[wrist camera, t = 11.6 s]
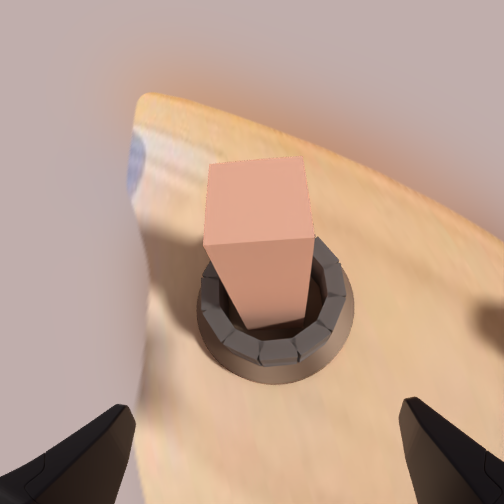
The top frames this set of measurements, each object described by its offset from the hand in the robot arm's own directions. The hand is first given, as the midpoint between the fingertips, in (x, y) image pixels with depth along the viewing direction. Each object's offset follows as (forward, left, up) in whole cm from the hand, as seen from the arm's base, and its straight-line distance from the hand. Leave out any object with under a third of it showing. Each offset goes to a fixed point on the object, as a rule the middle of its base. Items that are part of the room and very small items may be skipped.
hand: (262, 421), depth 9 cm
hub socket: (+4, +7, -14) cm, 16 cm away
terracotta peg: (+4, +7, -13) cm, 15 cm away
